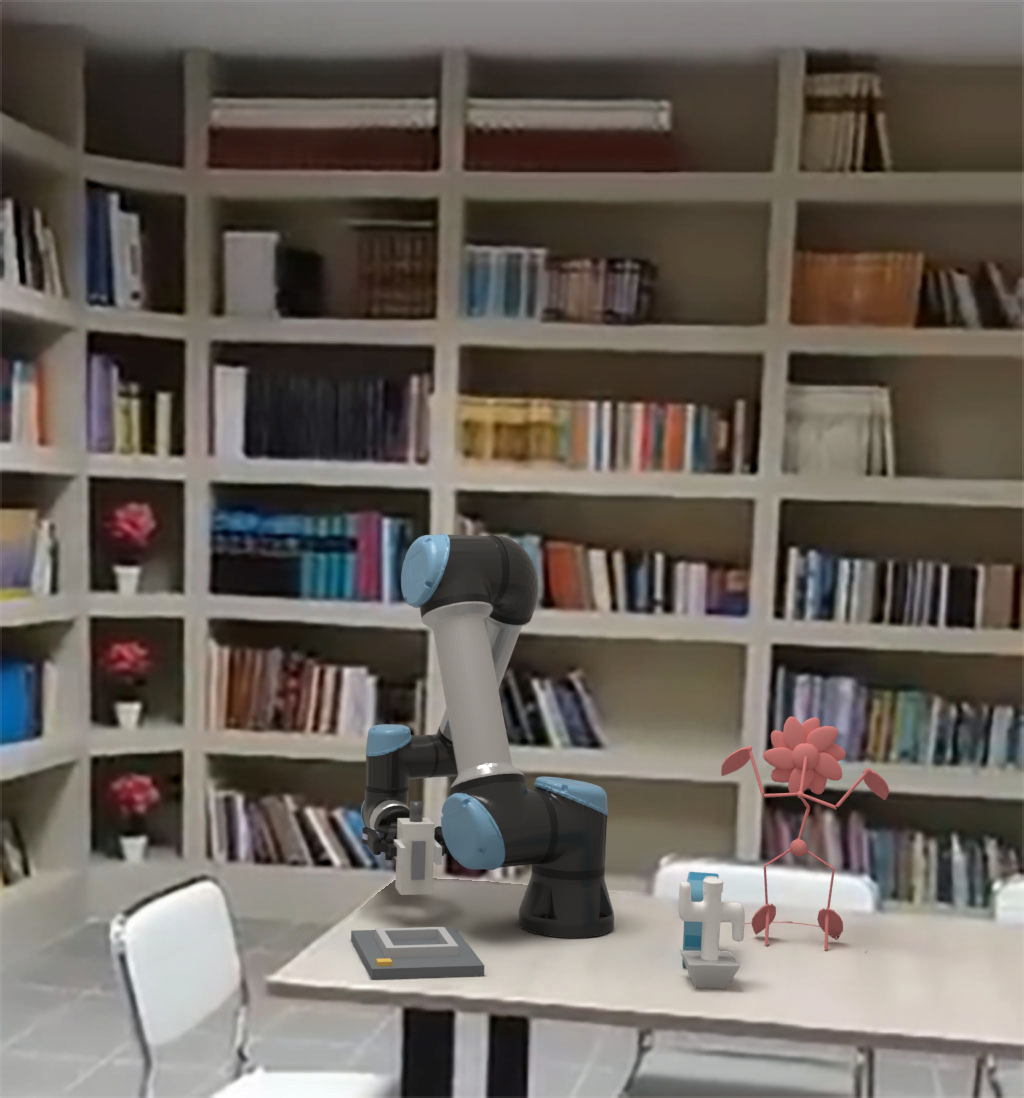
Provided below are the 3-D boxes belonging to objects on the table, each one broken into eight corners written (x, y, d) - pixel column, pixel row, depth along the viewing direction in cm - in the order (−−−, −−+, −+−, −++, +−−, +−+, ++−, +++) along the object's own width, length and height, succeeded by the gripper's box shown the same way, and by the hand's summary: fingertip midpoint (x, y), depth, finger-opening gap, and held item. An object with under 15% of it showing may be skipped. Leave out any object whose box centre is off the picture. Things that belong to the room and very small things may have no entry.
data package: (713, 971, 240) (716, 889, 240) (681, 969, 241) (685, 887, 240) (715, 949, 252) (718, 871, 252) (685, 947, 253) (689, 869, 252)
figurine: (746, 991, 231) (751, 885, 230) (680, 990, 230) (684, 883, 230) (735, 976, 238) (740, 873, 238) (671, 975, 237) (675, 871, 237)
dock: (455, 937, 253) (455, 918, 253) (484, 975, 233) (484, 954, 233) (351, 940, 249) (351, 920, 249) (371, 979, 230) (372, 958, 229)
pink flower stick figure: (883, 957, 251) (893, 728, 250) (712, 943, 255) (722, 717, 254) (877, 931, 266) (887, 715, 265) (716, 918, 271) (725, 705, 269)
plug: (426, 886, 262) (429, 798, 262) (433, 895, 257) (436, 805, 257) (395, 887, 261) (398, 799, 261) (401, 896, 256) (404, 805, 255)
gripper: (447, 848, 279) (477, 879, 256) (341, 850, 275) (362, 881, 252) (449, 804, 279) (479, 831, 256) (342, 805, 274) (363, 832, 252)
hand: (421, 856), depth 254 cm, fingers closed on plug, 5 cm apart
